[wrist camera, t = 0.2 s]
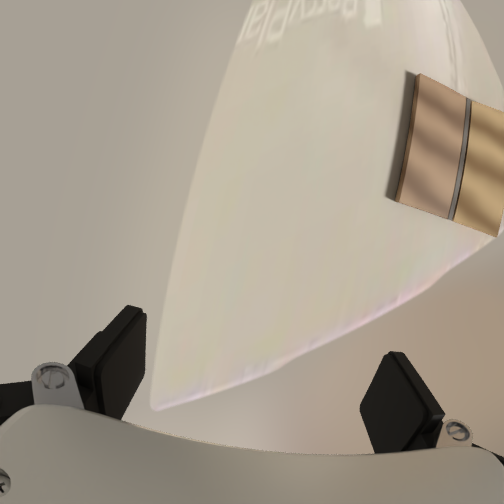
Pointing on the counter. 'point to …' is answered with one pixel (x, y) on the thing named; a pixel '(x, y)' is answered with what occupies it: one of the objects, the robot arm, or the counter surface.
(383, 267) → the counter surface
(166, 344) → the counter surface
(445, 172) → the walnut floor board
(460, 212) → the oak plank
